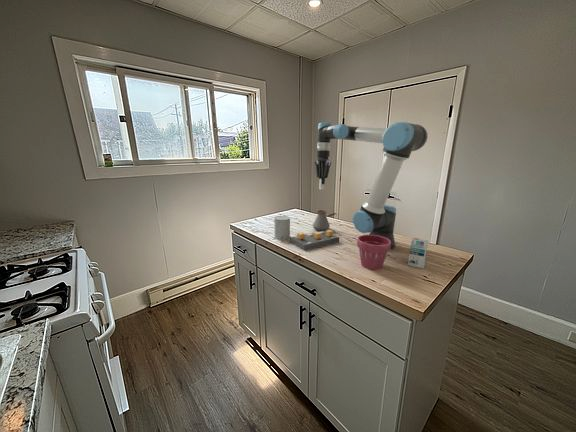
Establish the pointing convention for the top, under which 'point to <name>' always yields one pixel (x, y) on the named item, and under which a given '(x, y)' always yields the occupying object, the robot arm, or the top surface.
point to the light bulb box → (418, 253)
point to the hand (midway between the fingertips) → (321, 189)
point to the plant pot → (373, 250)
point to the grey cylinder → (282, 227)
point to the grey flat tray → (313, 241)
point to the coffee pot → (321, 221)
